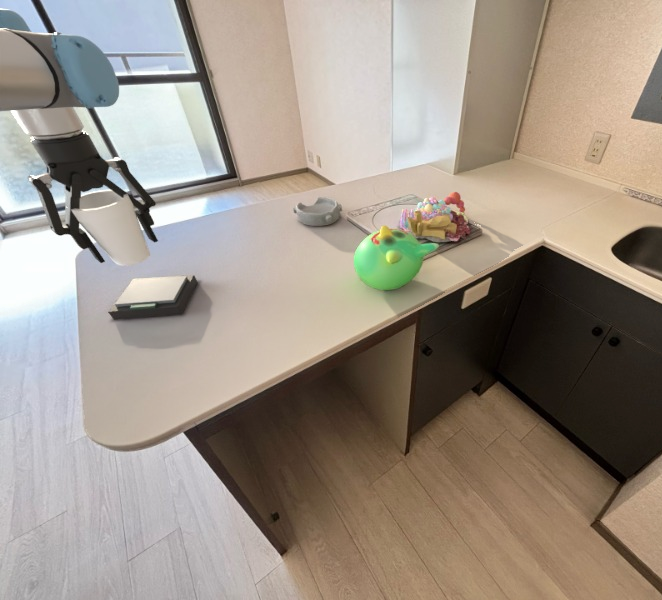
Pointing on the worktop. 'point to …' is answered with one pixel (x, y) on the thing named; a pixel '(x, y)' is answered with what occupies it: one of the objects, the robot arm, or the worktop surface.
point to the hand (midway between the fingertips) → (128, 249)
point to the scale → (154, 297)
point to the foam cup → (113, 226)
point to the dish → (319, 212)
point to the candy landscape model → (437, 220)
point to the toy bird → (390, 258)
